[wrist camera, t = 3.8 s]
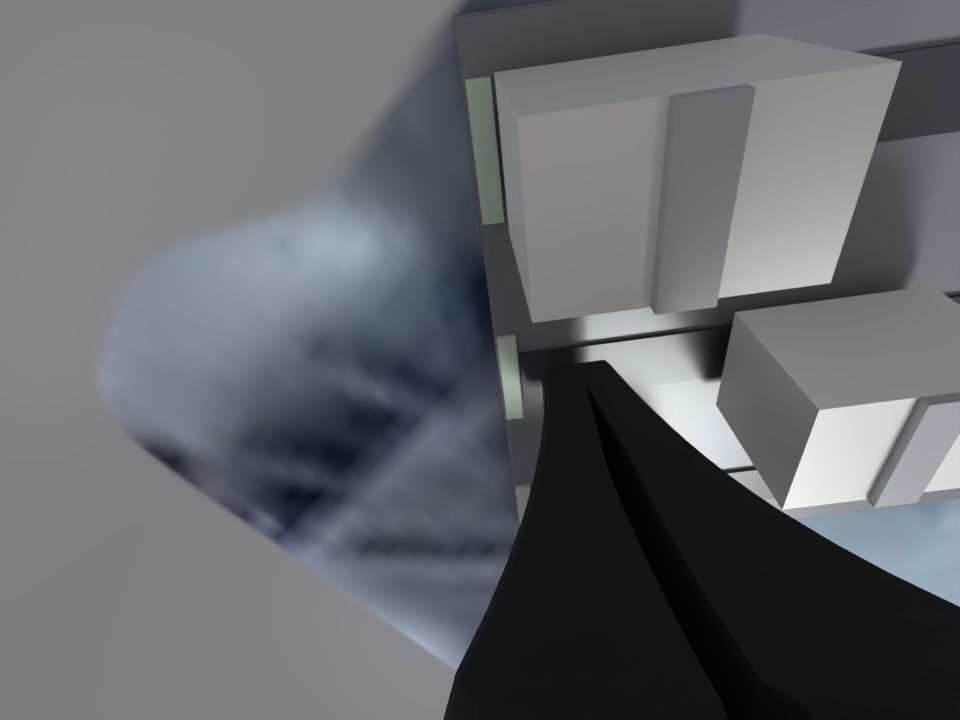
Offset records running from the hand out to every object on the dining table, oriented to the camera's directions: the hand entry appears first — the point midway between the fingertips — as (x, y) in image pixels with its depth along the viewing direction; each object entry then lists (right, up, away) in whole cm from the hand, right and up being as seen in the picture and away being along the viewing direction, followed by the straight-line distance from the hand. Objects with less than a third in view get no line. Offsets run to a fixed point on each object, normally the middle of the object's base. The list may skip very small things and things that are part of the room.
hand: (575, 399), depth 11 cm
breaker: (0, +4, -3) cm, 5 cm away
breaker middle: (+5, +1, 0) cm, 5 cm away
